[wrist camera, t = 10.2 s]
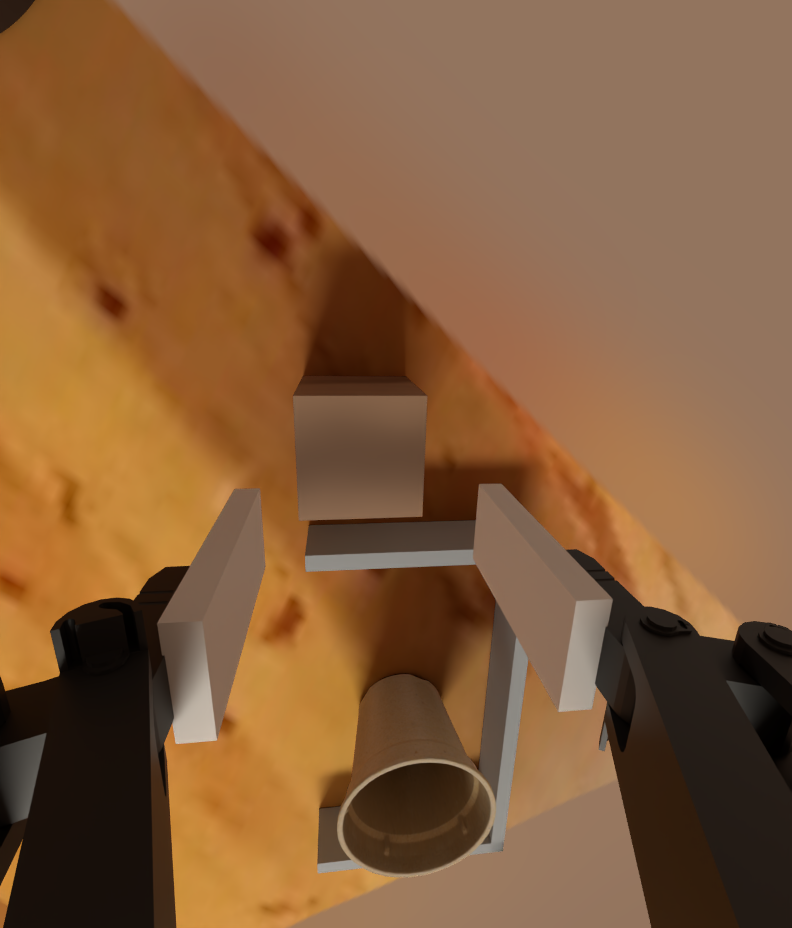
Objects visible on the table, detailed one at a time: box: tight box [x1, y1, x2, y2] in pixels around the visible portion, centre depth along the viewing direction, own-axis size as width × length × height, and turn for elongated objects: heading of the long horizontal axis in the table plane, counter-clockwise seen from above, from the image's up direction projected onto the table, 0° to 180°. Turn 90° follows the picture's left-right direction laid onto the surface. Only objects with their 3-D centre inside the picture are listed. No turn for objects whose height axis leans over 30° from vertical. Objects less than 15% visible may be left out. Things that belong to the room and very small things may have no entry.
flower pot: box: [337, 674, 496, 877], centre depth 31 cm, size 9×9×9 cm
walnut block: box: [293, 376, 427, 521], centre depth 25 cm, size 6×6×7 cm
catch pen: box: [305, 520, 528, 873], centre depth 33 cm, size 26×14×4 cm, turn 179°
